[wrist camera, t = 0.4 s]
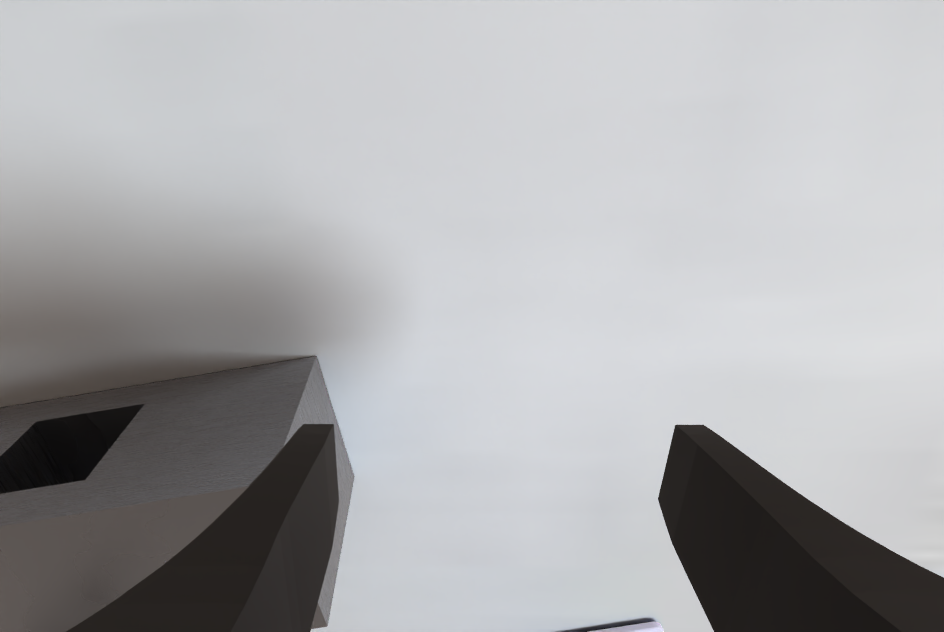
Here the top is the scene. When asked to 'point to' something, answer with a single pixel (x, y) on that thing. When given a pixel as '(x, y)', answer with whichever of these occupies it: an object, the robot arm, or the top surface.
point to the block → (141, 482)
